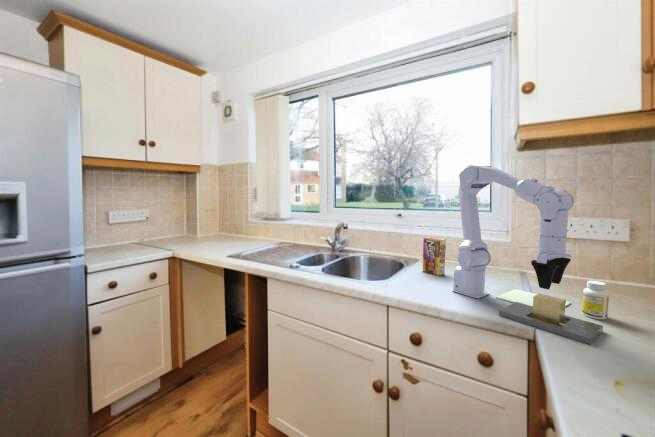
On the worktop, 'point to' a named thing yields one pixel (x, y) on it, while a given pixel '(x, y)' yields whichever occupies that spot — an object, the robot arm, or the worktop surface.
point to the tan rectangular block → (549, 309)
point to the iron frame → (571, 329)
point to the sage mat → (520, 297)
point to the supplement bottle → (595, 300)
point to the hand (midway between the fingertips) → (549, 285)
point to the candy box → (434, 255)
